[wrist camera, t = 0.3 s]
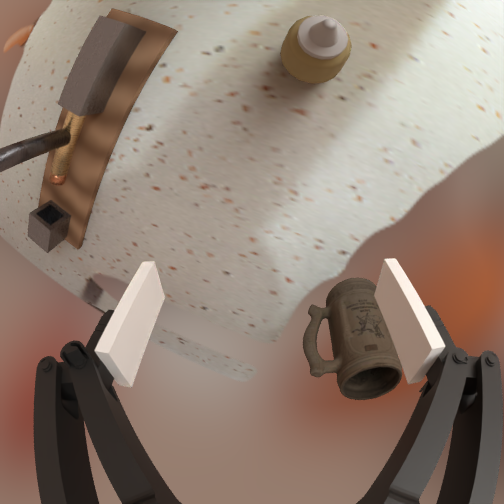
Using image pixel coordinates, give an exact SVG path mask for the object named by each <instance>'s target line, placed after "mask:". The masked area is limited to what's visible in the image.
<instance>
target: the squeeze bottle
mask: <svg viewBox="0 0 504 504" xmlns="http://www.w3.org/2000/svg"><path fill="white" fill-rule="evenodd" d="M350 51H351V41H350V37H349V35H348V33H347V32H346V30H345V29H344V27H343V26H342V25H341V23H339V22H338V21H336V20H335V19H333V18H331V17H327V16H323V15H318V16H307V17H304V18H302V19H300V20H298V21H296V22H295V23H294V25H293V26H292V27H291V28H290V29H289V31H288V34H287V36H286V38H285V40H284V42H283V44H282V49H281V53H280V54H281V59H282V63H283V65H284V67H285V68H286V69H287V71H288V72H289V74H291V75H292V76H294V77H295V78H297V79H298V80H300V81H304V82H308V83H311V84H314V83H324V82H326V81H328V80H330V79H332V78H334V77H335V76H336V75H337V74H338V72H339V71H340V70H341V69H342V67H343V65H344V64H345V62H346V61H347V59H348V57H349V55H350Z"/></svg>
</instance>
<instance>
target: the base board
mask: <svg viewBox="0 0 504 504" xmlns="http://www.w3.org/2000/svg"><path fill="white" fill-rule="evenodd" d="M107 18H110V19H113V20H116V21H120V22H123V23H126V24H128V25H131V26H134V27H136V28H139V29H141V30H144V31H146V33H145V35H144V36H143V38H142V40H141V41H140V43H139V44H138V46H137V48H136V49H135V51H134V53H133V54H132V56H131V58H130V60H129V61H128V63H127V65H126V67H125V69H124V70H123V72H122V74H121V76H120V78H119V80H118V82H117V84H116V86H115V88H114V90H113V92H112V94H111V96H110V98H109V100H108V103H107V105H106V107H105V109H104V111H103V113H97V114H91V115H86V118H85V121H84V123H83V126H82V129H81V131H80V134H79V137H78V140H77V143H76V146H75V149H74V152H73V156H72V159H71V162H70V166H69V169H68V173H67V177H66V180H65V183H64V184H63V185H60V186H56V185H53V184H51V183H50V182H49V176H50V172H51V167H52V163H53V159H54V155H55V152H56V149H55V150H52V151H49V155H48V159H47V163H46V168H45V172H44V177H43V182H42V188H41V193H40V199H39V206H38V207H40V206H42V205H43V204H45V203H46V202H48V201H50V200H52V201H53V202H55V203H56V204H57V205H58V206H60V207H61V208H62V209H63V210H65V211H66V212H67V213H69V214H70V215H71V219H70V224H69V229H68V234H67V237H66V238H65V240H66V241H67V242H69V243H70V244H71V245H73V246H74V247H75V248H77V249H79V248H80V247H81V246H82V243H83V239H84V235H85V232H86V228H87V224H88V221H89V217H90V214H91V210H92V207H93V204H94V201H95V198H96V195H97V191H98V189H99V186H100V183H101V180H102V177H103V174H104V172H105V169H106V166H107V164H108V161H109V159H110V156H111V154H112V151H113V149H114V146H115V144H116V142H117V139H118V137H119V135H120V133H121V130H122V128H123V126H124V124H125V122H126V120H127V117H128V115H129V113H130V111H131V109H132V107H133V105H134V103H135V101H136V99H137V98H138V96H139V94H140V92H141V90H142V88H143V86H144V85H145V83H146V81H147V79H148V78H149V76H150V74H151V72H152V71H153V69H154V67H155V66H156V64H157V62H158V61H159V59H160V58H161V56H162V55H163V53H164V51H165V50H166V48H167V47H168V45H169V44H170V42H171V41H172V39H173V38H174V37H175V35H176V34H177V32H178V31H176V30H175V29H172V28H170V27H167V26H165V25H162V24H160V23H157V22H154V21H151V20H149V19H146V18H143V17H140V16H137V15H133V14H130V13H127V12H124V11H120V10H116V9H113V8H112V9H111V11H110V12H109V14H108V15H107ZM68 111H69V110H67V109H65V108H64V107H63V108H62V111H61V114H60V117H59V120H58V123H57V126H56V130H59V129H62V128H63V125H64V122H65V119H66V116H67V113H68Z"/></svg>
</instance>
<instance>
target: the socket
mask: <svg viewBox="0 0 504 504" xmlns="http://www.w3.org/2000/svg"><path fill="white" fill-rule="evenodd" d="M70 219H71V215H70V214H69V213H67V212H66V211H65V210H63V209H62V208H61V207H60V206H58V205H57V204H56V203H55V202H53V201H52V200H50V201H48V202H46V203H45V204H43V205H42V206H40V207H38V208H37V209H35V210H34V211H32V212H31V213H30V214H29V225H28V237H30V238H31V239H32V240H33V241H34V242H35V243H36V244H37V245H39V246H40V247H41V248H42V249H43V250H44V251H46V252H47V253H48V252H50V251H51V250H52V249H53V248H54V247H55V246H57V245H58V244H59V243H60V242H61V241H63V240H64V239H65V238H66V237H67V234H68V229H69V224H70Z"/></svg>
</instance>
